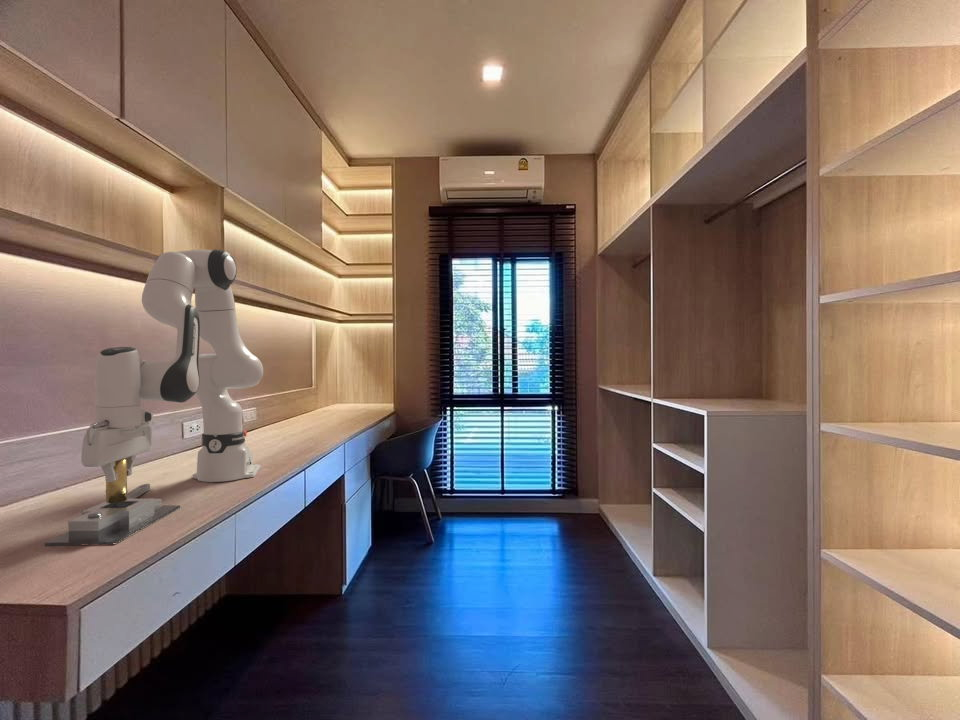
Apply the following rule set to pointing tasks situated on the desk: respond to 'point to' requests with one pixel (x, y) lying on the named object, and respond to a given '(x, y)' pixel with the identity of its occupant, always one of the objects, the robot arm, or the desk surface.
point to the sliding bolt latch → (112, 521)
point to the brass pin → (118, 483)
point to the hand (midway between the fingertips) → (119, 478)
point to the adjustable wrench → (138, 491)
